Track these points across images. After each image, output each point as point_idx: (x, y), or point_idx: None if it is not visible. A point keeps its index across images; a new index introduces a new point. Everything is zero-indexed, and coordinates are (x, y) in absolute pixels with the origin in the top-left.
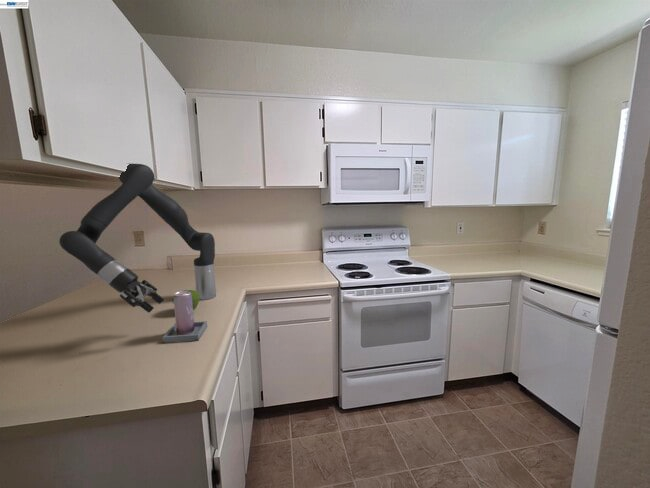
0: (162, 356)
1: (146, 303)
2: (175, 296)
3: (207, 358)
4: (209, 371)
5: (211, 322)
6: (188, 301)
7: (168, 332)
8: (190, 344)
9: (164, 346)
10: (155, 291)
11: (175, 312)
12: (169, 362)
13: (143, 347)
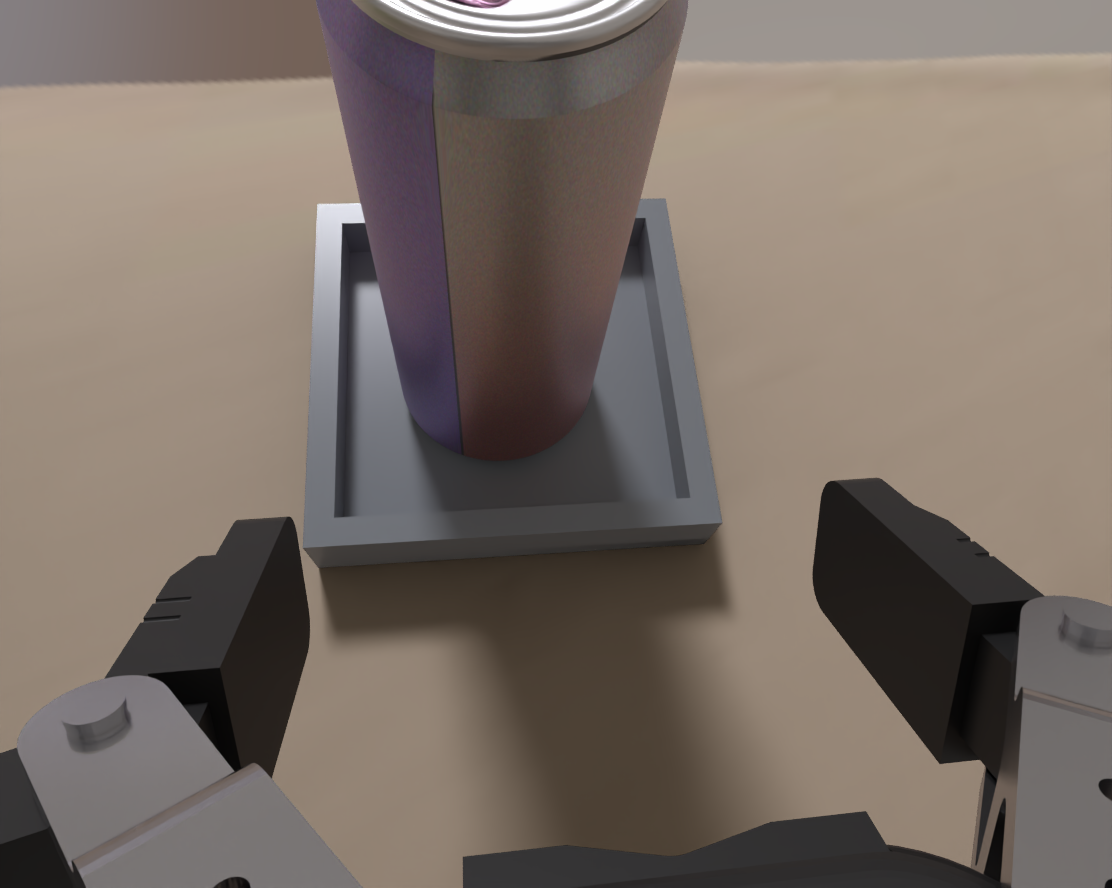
0: (946, 430)
1: (971, 566)
2: (661, 7)
3: (926, 109)
4: (1067, 67)
5: (227, 231)
6: None
7: (591, 511)
8: (724, 279)
9: (769, 496)
10: (109, 697)
11: (605, 276)
12: (1021, 335)
13: (801, 720)
